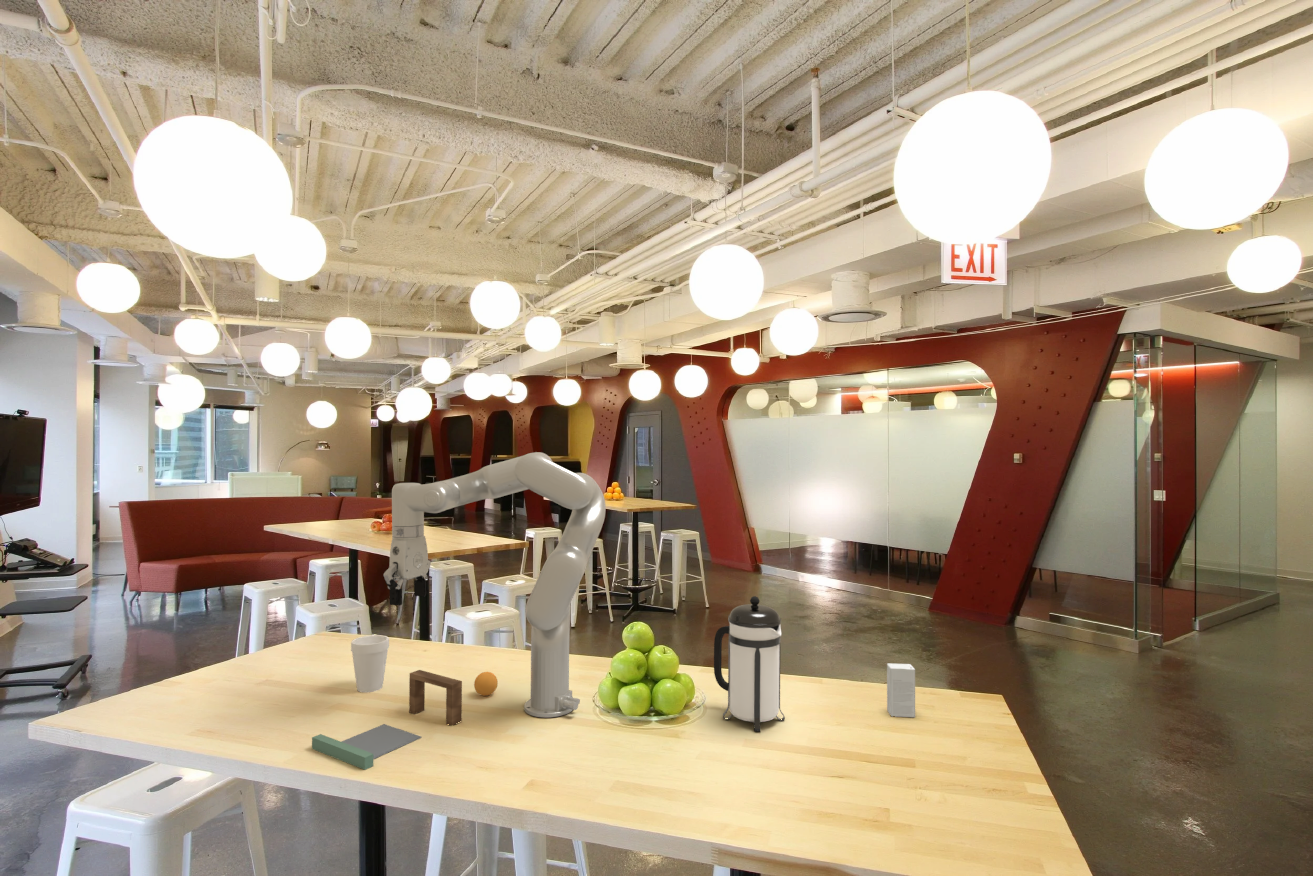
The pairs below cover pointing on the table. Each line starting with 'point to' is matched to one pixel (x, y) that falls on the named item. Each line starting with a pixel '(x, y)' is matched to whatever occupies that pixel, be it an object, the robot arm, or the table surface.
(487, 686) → the ball
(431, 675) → the bridge
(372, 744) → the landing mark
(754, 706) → the coffee press
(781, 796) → the table surface
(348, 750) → the stopper wall
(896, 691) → the skincare box
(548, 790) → the table surface
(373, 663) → the foam cup
